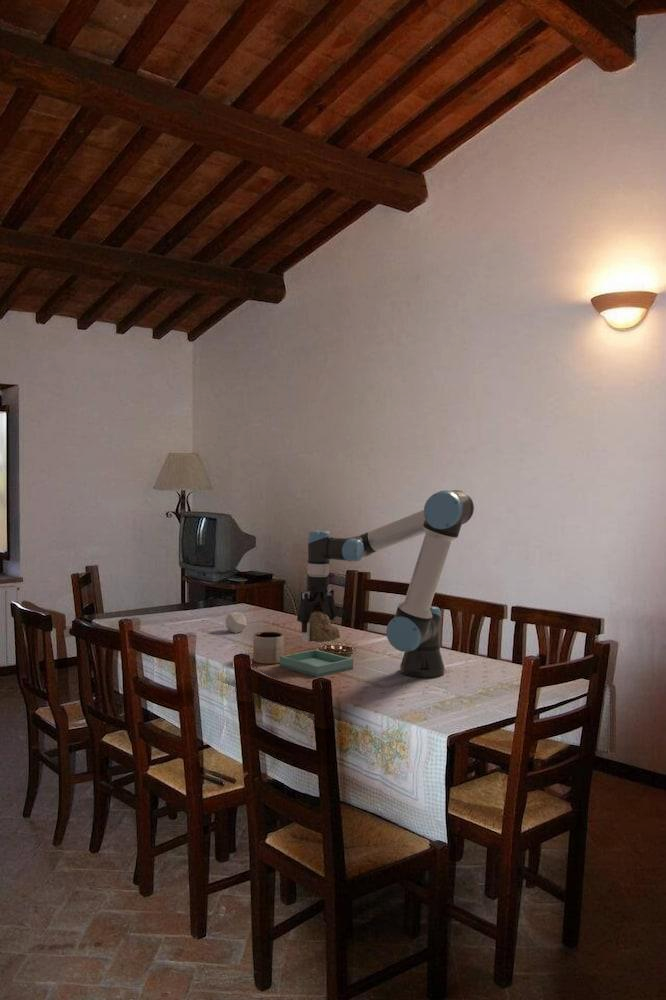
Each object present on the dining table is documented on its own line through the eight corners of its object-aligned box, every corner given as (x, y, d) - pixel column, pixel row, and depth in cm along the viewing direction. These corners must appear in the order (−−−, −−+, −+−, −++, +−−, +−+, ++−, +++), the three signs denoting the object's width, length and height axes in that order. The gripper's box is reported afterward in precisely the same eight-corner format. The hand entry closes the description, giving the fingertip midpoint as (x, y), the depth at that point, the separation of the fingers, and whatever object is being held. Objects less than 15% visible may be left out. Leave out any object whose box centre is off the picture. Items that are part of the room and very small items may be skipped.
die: (250, 634, 346) (250, 612, 351) (239, 626, 339) (238, 604, 345) (233, 639, 349) (232, 618, 354) (221, 632, 342) (221, 610, 348)
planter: (271, 666, 290) (272, 639, 290) (246, 661, 296) (247, 635, 296) (289, 660, 300) (290, 633, 299) (265, 656, 305) (265, 630, 305)
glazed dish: (353, 669, 289) (353, 659, 289) (317, 677, 277) (317, 666, 277) (315, 658, 302) (315, 649, 302) (279, 666, 290) (279, 656, 290)
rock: (307, 627, 281) (328, 610, 285) (289, 624, 292) (310, 607, 296) (322, 654, 284) (343, 636, 288) (304, 649, 295) (325, 632, 299)
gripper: (333, 571, 298) (331, 633, 300) (287, 576, 283) (285, 642, 284) (348, 574, 293) (346, 637, 294) (302, 579, 278) (300, 646, 279)
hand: (316, 639), depth 289 cm, fingers closed on rock, 9 cm apart
